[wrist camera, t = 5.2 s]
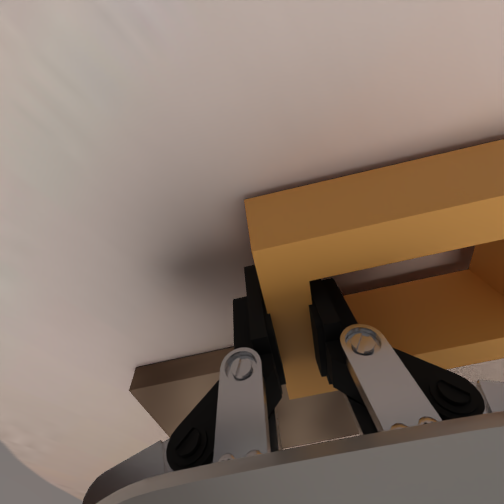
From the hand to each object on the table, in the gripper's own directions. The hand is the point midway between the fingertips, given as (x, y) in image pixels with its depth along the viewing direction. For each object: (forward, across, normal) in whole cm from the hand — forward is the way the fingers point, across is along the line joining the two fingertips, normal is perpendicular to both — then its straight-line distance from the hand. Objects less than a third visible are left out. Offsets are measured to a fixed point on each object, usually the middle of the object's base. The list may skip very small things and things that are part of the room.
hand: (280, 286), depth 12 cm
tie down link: (+1, -5, 0) cm, 5 cm away
